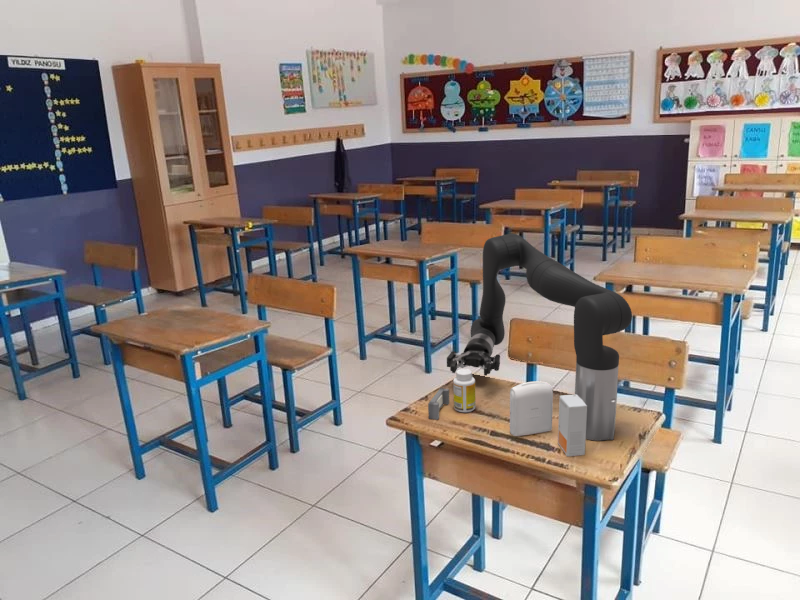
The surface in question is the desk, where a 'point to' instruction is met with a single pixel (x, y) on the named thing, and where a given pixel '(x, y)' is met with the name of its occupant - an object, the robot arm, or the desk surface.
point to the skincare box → (572, 425)
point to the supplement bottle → (464, 391)
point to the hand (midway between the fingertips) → (469, 370)
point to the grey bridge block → (438, 403)
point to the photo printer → (531, 408)
